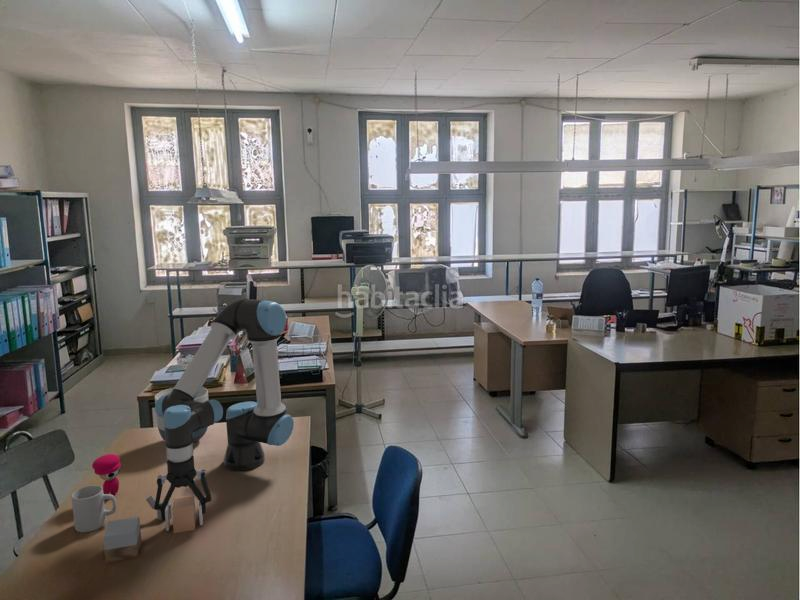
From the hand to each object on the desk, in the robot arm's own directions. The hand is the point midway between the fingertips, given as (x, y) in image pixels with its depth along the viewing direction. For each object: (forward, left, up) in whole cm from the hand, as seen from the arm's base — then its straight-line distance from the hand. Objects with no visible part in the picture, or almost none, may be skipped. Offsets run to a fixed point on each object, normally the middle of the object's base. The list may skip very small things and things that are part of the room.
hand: (184, 525), depth 168 cm
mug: (+26, -10, 0) cm, 28 cm away
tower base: (+16, +8, 0) cm, 18 cm away
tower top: (+16, +8, +4) cm, 18 cm away
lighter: (+8, -7, 0) cm, 11 cm away
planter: (+4, -65, 0) cm, 65 cm away
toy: (+25, -26, 0) cm, 36 cm away
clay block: (0, 0, 0) cm, 0 cm away
